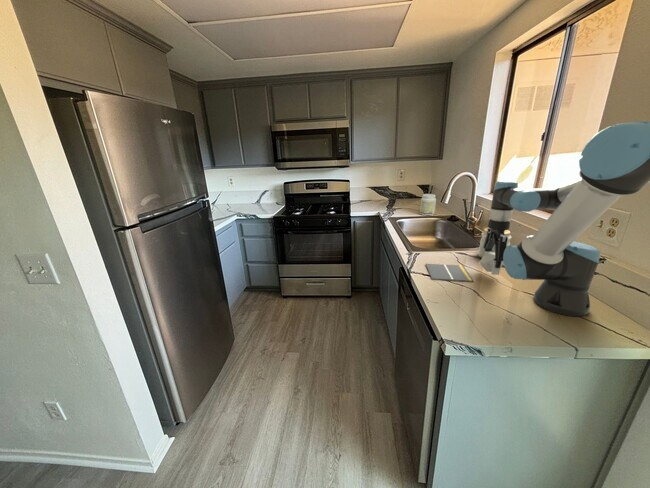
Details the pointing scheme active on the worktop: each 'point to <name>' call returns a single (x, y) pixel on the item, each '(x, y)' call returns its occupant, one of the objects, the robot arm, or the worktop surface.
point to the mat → (449, 272)
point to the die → (488, 261)
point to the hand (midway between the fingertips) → (490, 269)
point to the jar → (482, 250)
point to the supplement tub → (428, 204)
